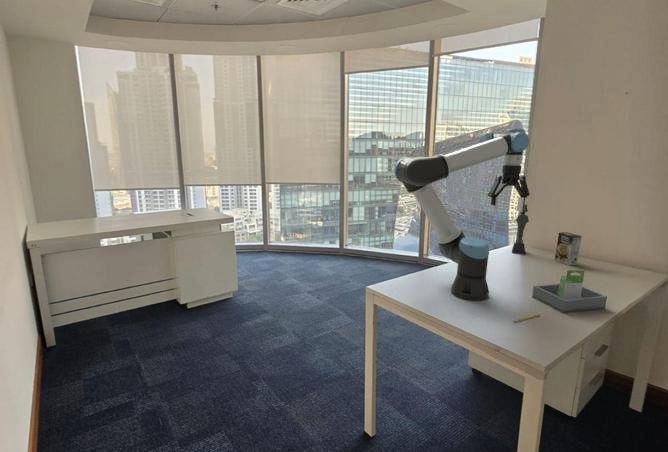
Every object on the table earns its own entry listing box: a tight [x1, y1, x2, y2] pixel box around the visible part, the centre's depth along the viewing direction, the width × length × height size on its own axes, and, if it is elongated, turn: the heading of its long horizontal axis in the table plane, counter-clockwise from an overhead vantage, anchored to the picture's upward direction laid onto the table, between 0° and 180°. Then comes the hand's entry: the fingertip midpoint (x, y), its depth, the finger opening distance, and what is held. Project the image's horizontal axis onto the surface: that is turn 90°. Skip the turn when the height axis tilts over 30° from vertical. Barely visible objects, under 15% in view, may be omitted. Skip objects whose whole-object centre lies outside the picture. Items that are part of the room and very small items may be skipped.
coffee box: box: [554, 231, 583, 266], centre depth 206 cm, size 9×6×16 cm
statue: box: [511, 202, 530, 255], centre depth 223 cm, size 7×8×30 cm
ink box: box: [558, 269, 585, 300], centre depth 152 cm, size 7×4×13 cm, turn 86°
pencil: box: [513, 313, 541, 323], centre depth 138 cm, size 1×14×1 cm, turn 116°
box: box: [531, 283, 608, 314], centre depth 153 cm, size 20×16×5 cm
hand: (506, 211), depth 172 cm, fingers open, 13 cm apart
